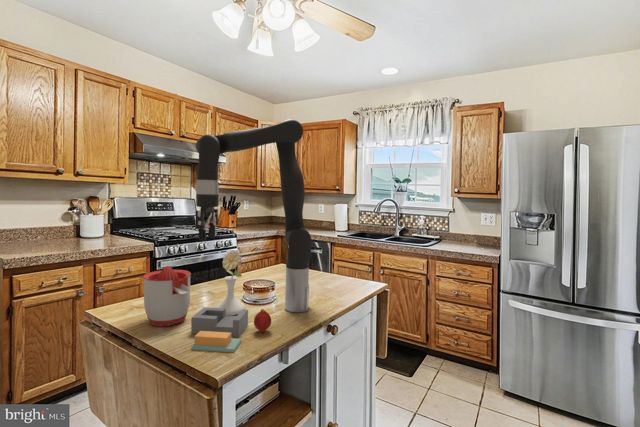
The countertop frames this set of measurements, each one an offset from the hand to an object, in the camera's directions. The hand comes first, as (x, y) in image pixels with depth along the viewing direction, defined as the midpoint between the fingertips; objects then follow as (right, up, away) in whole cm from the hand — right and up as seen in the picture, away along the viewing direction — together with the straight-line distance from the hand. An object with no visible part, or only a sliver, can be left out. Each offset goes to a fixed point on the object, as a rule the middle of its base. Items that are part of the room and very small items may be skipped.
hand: (207, 239), depth 120 cm
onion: (+20, -31, -5) cm, 38 cm away
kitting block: (+6, -31, -4) cm, 32 cm away
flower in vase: (+6, -30, +11) cm, 32 cm away
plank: (+7, -30, -17) cm, 35 cm away
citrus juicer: (-14, -30, +1) cm, 33 cm away
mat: (+8, -31, -16) cm, 36 cm away
